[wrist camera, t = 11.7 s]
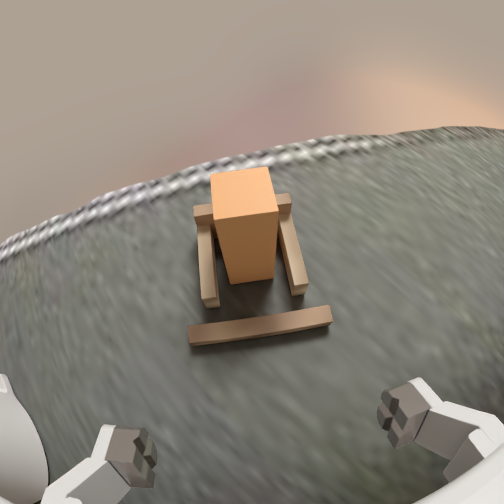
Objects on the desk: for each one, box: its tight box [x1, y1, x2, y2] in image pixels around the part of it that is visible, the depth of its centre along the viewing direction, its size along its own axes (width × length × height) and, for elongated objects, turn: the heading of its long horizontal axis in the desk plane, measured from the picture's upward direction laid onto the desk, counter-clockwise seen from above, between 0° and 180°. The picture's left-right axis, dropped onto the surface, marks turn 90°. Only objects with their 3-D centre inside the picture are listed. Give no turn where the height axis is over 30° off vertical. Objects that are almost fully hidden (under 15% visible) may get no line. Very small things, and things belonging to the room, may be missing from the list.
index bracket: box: [194, 193, 309, 308], centre depth 25 cm, size 9×8×4 cm
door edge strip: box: [188, 305, 333, 346], centre depth 23 cm, size 12×2×1 cm, turn 98°
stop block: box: [210, 167, 279, 285], centre depth 23 cm, size 4×4×10 cm
